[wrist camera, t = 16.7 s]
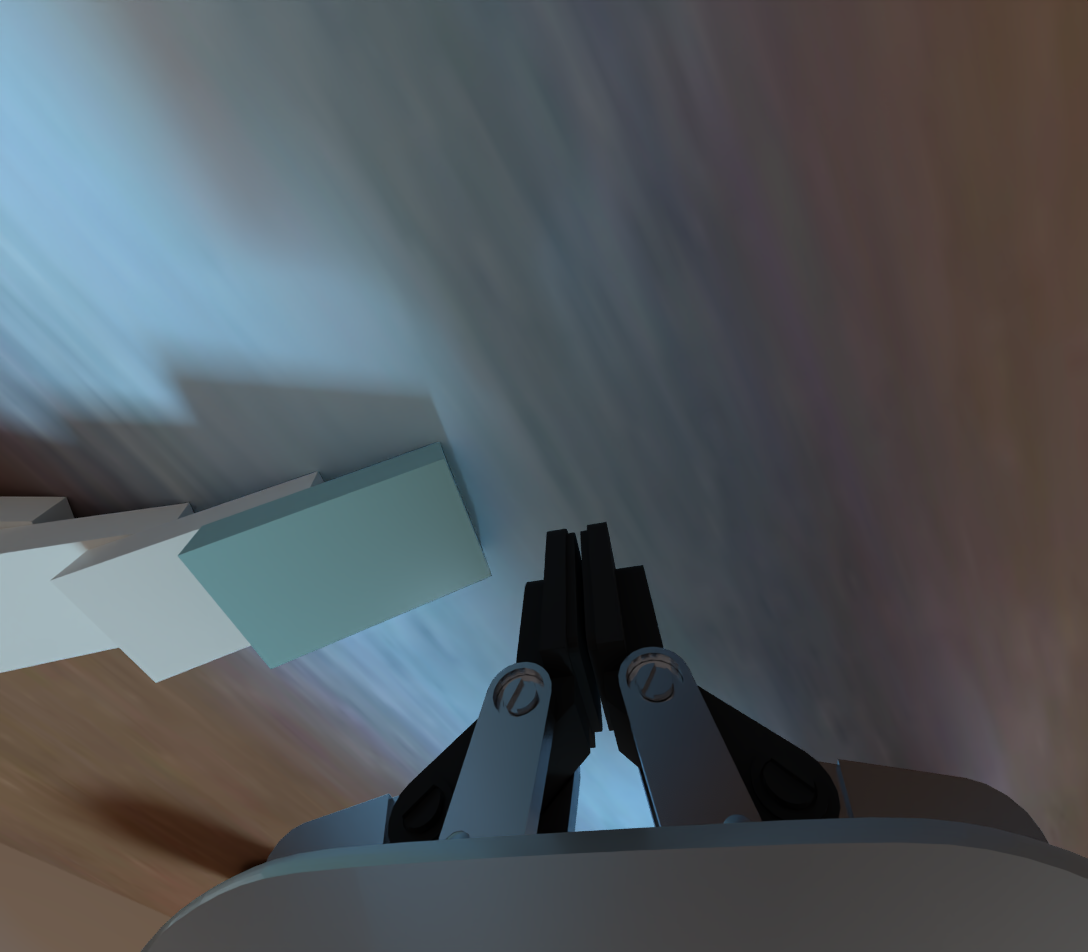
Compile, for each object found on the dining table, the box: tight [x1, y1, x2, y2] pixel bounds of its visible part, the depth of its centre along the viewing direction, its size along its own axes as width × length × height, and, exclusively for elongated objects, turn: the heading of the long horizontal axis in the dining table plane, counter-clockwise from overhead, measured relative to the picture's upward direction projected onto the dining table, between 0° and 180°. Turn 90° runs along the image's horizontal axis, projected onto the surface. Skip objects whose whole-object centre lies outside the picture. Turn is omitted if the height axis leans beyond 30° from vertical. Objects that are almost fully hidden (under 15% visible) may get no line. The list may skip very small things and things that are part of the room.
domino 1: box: [0, 503, 194, 673], centre depth 16 cm, size 2×5×8 cm
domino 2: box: [50, 471, 324, 683], centre depth 16 cm, size 2×5×8 cm
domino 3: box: [178, 442, 492, 669], centre depth 15 cm, size 2×5×8 cm
